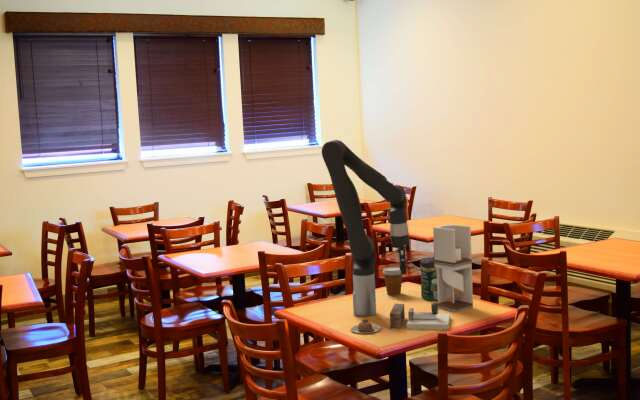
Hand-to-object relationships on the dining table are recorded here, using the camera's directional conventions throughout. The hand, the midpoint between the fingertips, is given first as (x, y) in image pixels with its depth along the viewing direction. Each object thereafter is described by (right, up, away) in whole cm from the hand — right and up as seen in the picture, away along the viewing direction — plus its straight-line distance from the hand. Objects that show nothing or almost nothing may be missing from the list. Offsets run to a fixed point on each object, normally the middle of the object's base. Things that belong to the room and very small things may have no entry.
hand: (403, 272), depth 323 cm
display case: (+23, -16, +9) cm, 30 cm away
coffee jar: (+16, -15, +27) cm, 35 cm away
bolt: (+7, -17, -13) cm, 23 cm away
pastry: (-17, -22, -17) cm, 33 cm away
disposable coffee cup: (0, -14, +40) cm, 42 cm away
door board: (+9, -19, -13) cm, 25 cm away
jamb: (-3, -20, -10) cm, 22 cm away
